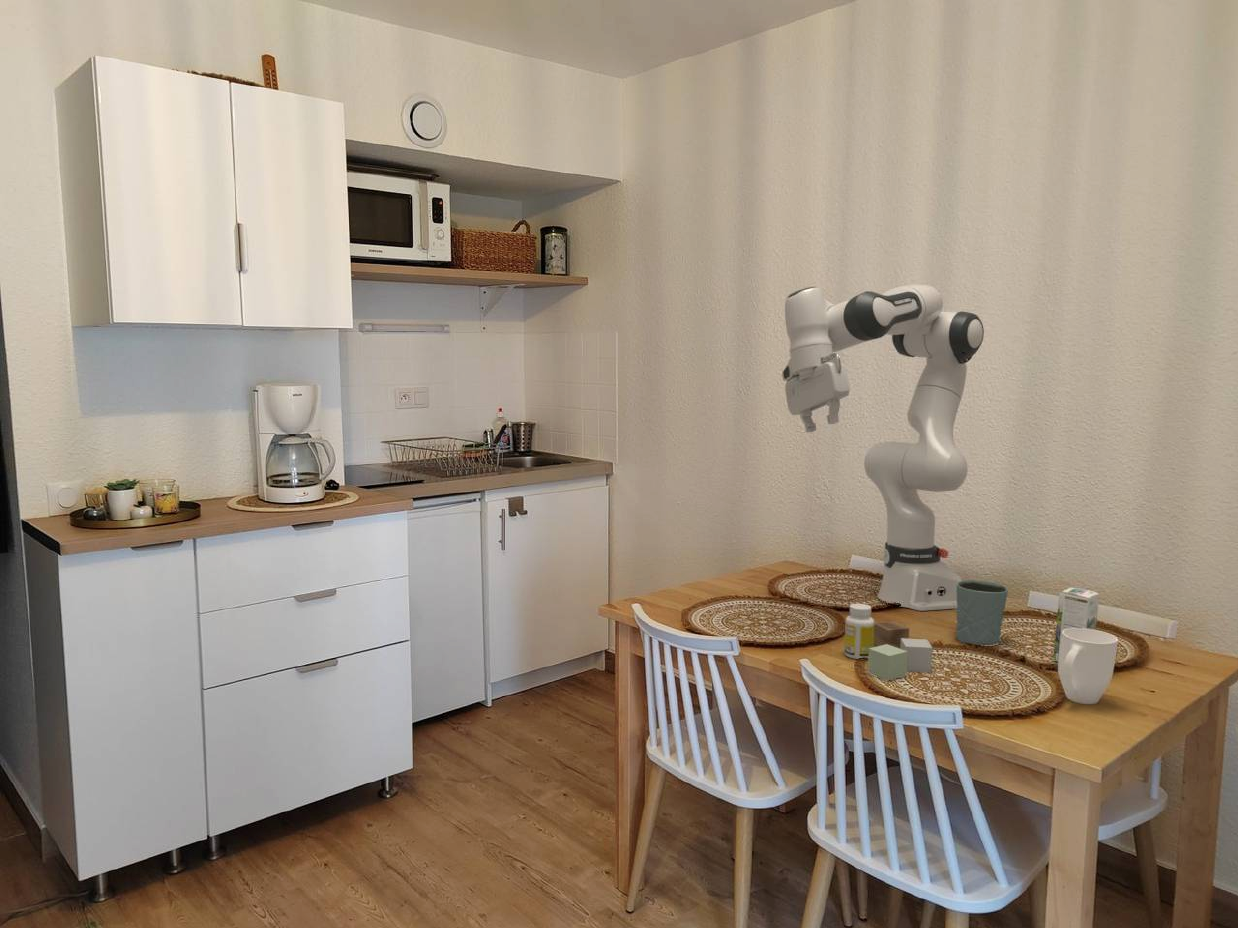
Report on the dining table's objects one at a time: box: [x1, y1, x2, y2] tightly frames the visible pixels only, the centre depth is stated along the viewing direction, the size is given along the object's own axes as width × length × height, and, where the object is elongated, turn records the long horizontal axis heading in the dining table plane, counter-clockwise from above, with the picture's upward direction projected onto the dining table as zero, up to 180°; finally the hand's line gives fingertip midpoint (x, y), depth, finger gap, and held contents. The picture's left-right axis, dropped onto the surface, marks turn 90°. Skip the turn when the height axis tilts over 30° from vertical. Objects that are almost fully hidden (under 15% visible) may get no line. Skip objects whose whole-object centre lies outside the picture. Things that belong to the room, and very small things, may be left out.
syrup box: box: [1052, 587, 1100, 661], centre depth 180 cm, size 6×6×14 cm
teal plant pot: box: [955, 579, 1009, 645], centre depth 193 cm, size 10×10×12 cm
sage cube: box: [867, 644, 908, 681], centre depth 172 cm, size 5×5×5 cm
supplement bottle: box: [844, 603, 875, 660], centre depth 183 cm, size 6×6×10 cm
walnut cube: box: [874, 620, 910, 649], centre depth 188 cm, size 5×5×5 cm
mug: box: [1057, 628, 1119, 705], centre depth 160 cm, size 12×9×12 cm
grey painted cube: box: [900, 638, 933, 673], centre depth 177 cm, size 5×5×5 cm
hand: (822, 427), depth 189 cm, fingers open, 8 cm apart
